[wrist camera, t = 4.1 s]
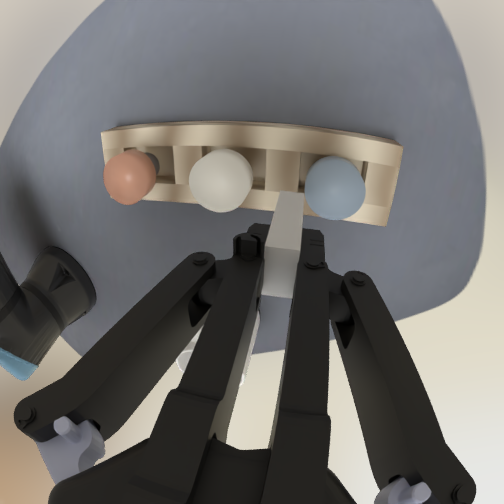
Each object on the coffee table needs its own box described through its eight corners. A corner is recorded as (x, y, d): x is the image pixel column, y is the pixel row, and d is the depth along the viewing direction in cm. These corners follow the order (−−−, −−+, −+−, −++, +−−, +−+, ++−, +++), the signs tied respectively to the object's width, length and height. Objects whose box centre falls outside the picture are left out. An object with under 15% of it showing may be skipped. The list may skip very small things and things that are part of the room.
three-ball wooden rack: (124, 188, 32) (110, 198, 29) (116, 126, 27) (100, 132, 25) (380, 213, 27) (385, 226, 25) (394, 140, 23) (403, 146, 20)
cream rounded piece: (208, 190, 26) (191, 209, 23) (207, 141, 24) (187, 153, 20) (258, 194, 26) (247, 215, 22) (259, 144, 23) (248, 156, 19)
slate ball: (303, 195, 26) (301, 215, 22) (308, 146, 23) (307, 158, 20) (353, 202, 25) (359, 224, 21) (361, 153, 22) (370, 167, 19)
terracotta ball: (132, 186, 28) (108, 203, 24) (126, 144, 25) (99, 156, 21) (170, 187, 27) (148, 206, 23) (166, 142, 24) (141, 154, 21)
